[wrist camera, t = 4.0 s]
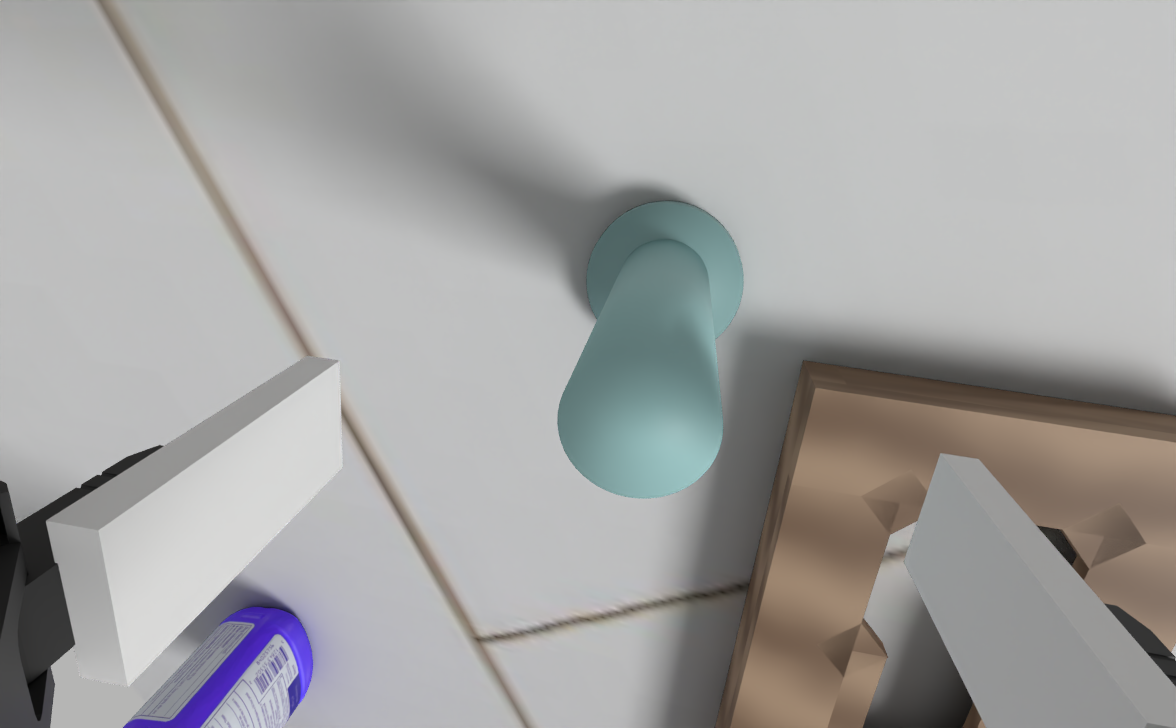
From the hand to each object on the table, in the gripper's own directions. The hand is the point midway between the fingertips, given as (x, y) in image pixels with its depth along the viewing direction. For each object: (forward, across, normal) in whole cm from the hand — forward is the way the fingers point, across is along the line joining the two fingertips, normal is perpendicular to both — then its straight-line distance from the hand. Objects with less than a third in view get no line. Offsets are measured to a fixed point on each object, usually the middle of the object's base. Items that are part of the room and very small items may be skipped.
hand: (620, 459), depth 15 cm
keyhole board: (+17, +16, -17) cm, 29 cm away
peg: (+18, 0, 0) cm, 18 cm away
